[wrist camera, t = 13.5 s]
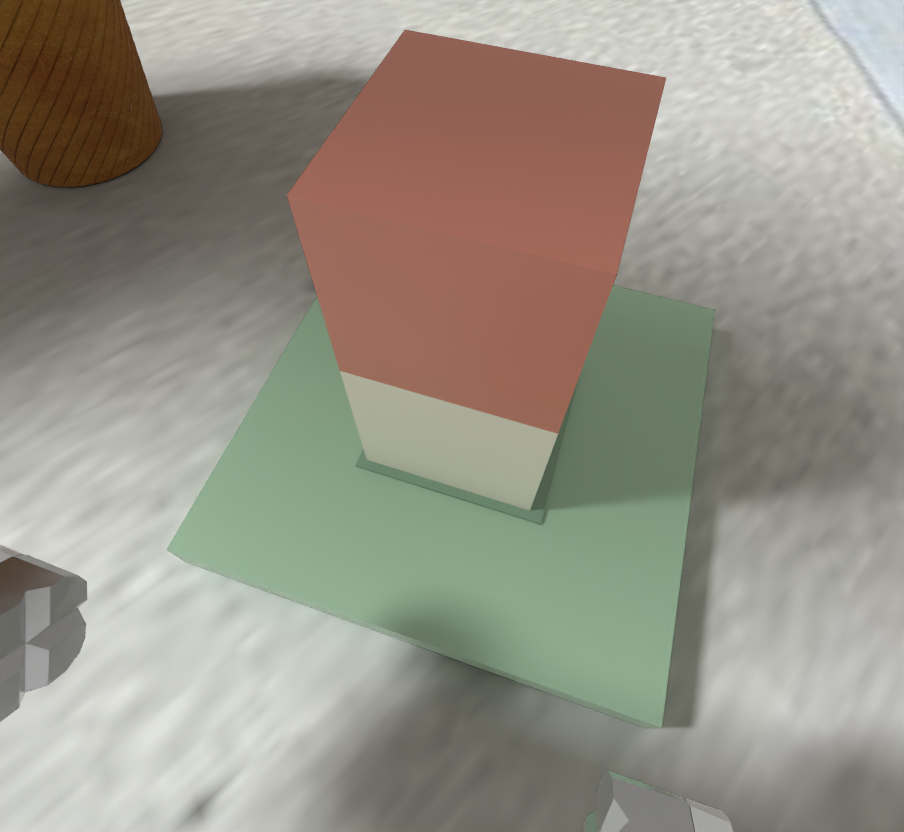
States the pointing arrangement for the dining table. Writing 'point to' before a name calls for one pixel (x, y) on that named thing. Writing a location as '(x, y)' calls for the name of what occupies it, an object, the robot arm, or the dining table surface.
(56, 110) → the disposable coffee cup
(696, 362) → the baseplate
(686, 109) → the dining table surface
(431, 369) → the pink and cream block
